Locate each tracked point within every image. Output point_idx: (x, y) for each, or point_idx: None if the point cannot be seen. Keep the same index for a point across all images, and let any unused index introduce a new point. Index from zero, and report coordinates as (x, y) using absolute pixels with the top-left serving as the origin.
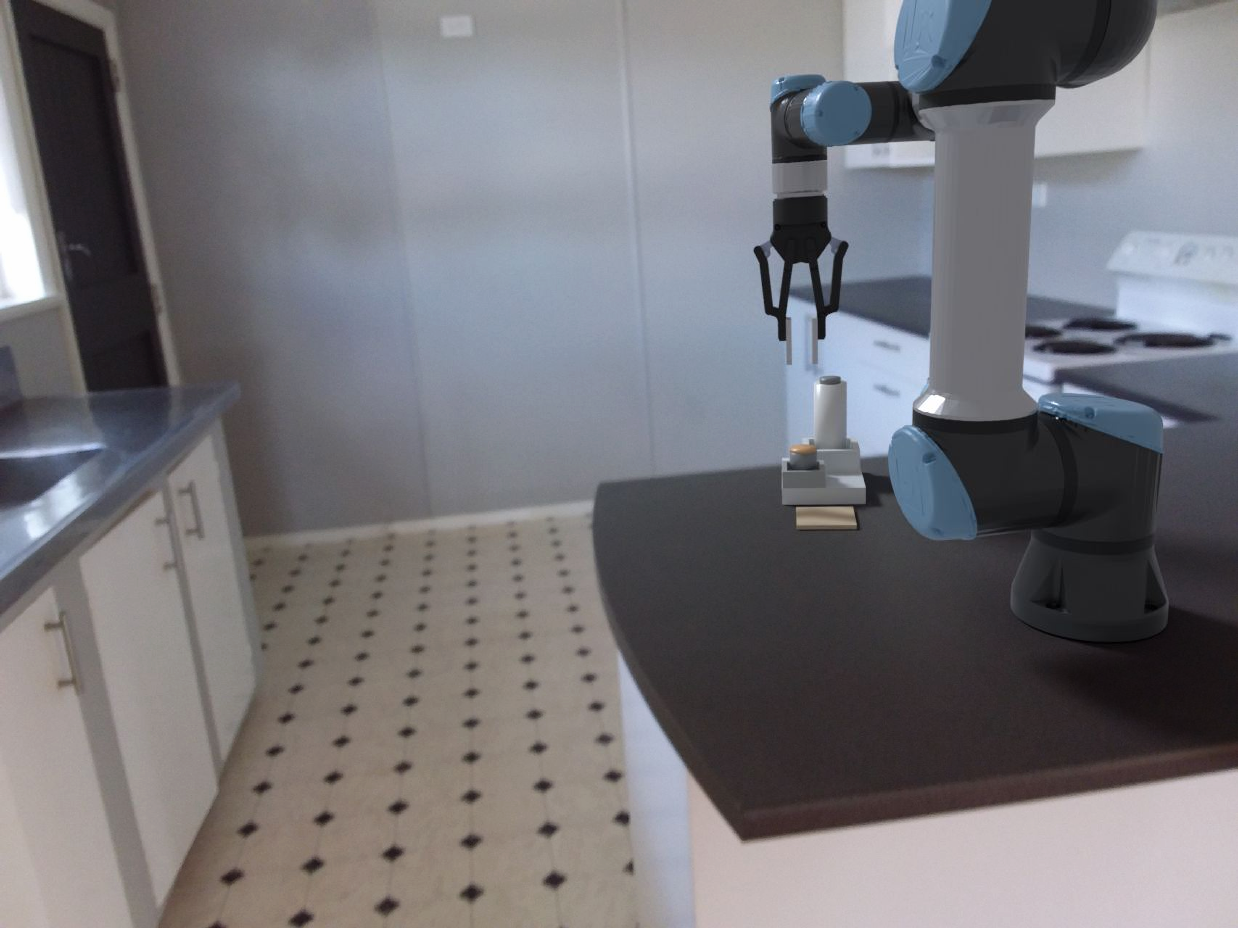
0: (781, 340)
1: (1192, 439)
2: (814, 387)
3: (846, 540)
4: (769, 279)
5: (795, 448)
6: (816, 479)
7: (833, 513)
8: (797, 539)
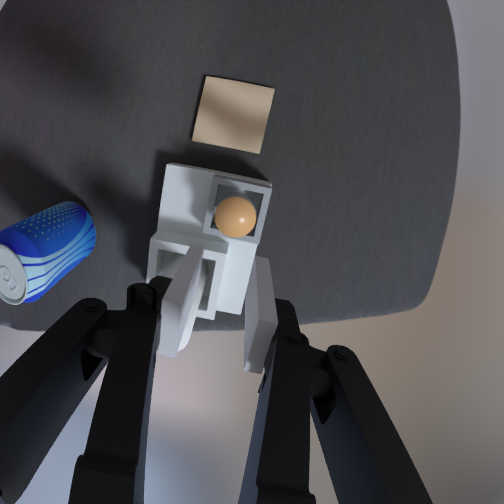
0: (283, 301)
1: None
2: (190, 326)
3: (228, 47)
4: (373, 453)
5: (247, 216)
6: (226, 177)
7: (221, 120)
8: (280, 61)
